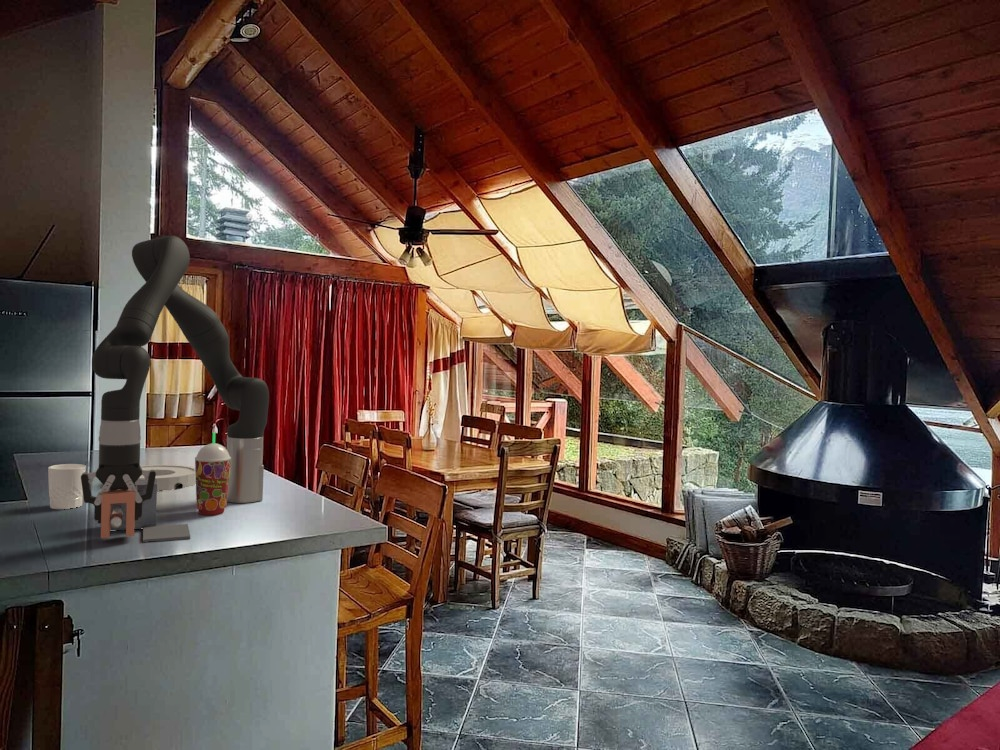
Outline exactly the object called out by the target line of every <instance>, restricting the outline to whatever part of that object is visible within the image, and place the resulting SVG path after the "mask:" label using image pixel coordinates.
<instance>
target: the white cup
mask: <svg viewBox="0 0 1000 750" xmlns="http://www.w3.org/2000/svg"><path fill="white" fill-rule="evenodd" d="M47 469H48V472H47V473H48V477H47V478H48V497H49V508H50V509H53V510H64V509H65V510H70V508H73V509H77V508H76V507H78V508H80V506H81V507H83V501H84V497H83V490H82V483H81V475H82V473H84V472H86V469H87V465H85V464H82V463H81V464H79V463H65V464H64V463H62V464H54V465H51V466H48V467H47ZM86 473H87V472H86Z"/></svg>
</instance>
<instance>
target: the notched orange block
mask: <svg viewBox="0 0 1000 750" xmlns="http://www.w3.org/2000/svg"><path fill="white" fill-rule="evenodd" d="M113 503H127V512H126V531H125V536H126V537H134V536H135V530H134V529H135V491H134V492H130V490H129V489H127V490H120V489H118V490H114V491H110V490H108V492H107V493H102V504H101V523H100V539H108V538H109V539H110V536H111V532H110V530H111V525H110V522H111V504H113Z"/></svg>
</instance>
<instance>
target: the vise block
mask: <svg viewBox="0 0 1000 750" xmlns="http://www.w3.org/2000/svg"><path fill="white" fill-rule="evenodd" d="M147 483H148V481H146V480H137V481H136V482H135V484H136V486H137V488H138V490H139V492H140V494H144V493H146V488H147ZM157 496H158V491H157V479H155V482H154V487H153V493H152V498H151V499H148V500H145V501H143V503H142V516H141V517H140V518H138V520H137V521H135V529H141V528H143V527H149V526H157V505H158V504H157V502H158V501H157V499H158V497H157ZM126 512H127V503H113V504H111V522H110V525H111V530H126Z"/></svg>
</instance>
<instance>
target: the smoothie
mask: <svg viewBox="0 0 1000 750" xmlns="http://www.w3.org/2000/svg"><path fill="white" fill-rule="evenodd" d="M230 465H231V457H230V455H229V453H228V451H227V447H225V446H224V445H222V444H220V443H216V432H212V442H211V443H208V444H206V445H204V446H203V447H201V448H200V449H199V451H198V453H197V455H196V456H195V457H194V468H195V473H196V485H195V495H196V496H195V497H196V499H195V501H196V503H195V504H196V509H197V510H198V514H200V515H201V516H202V515H203V516H217V515H221V514H223V513H224V512H225V508H226V507H227V504H228V503H227V502H228V501H227V495H228V485H229V475H230Z"/></svg>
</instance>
